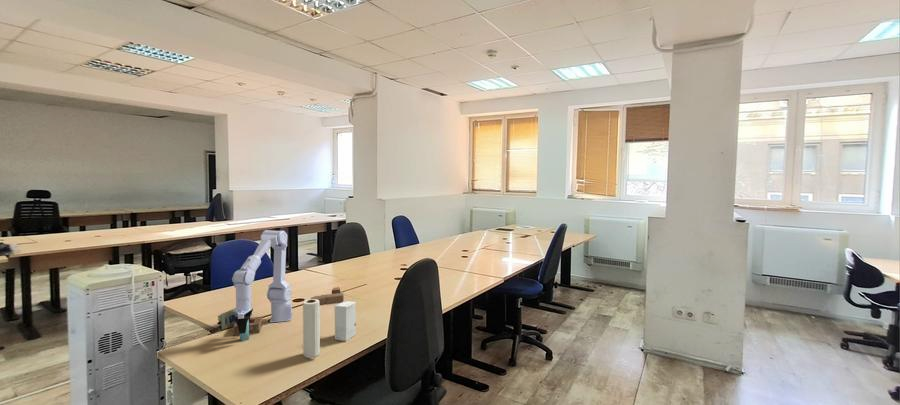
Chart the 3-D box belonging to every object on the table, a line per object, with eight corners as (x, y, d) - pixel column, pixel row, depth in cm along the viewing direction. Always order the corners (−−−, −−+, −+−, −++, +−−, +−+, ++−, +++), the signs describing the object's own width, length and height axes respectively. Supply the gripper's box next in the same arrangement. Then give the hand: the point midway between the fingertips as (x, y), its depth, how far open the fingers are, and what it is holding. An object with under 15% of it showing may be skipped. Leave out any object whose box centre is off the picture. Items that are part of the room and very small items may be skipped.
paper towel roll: (307, 350, 155) (306, 298, 154) (322, 351, 155) (321, 298, 154) (299, 359, 148) (299, 304, 147) (315, 359, 148) (314, 304, 147)
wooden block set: (345, 293, 216) (310, 296, 209) (345, 303, 216) (311, 307, 209) (340, 285, 231) (308, 288, 224) (340, 294, 232) (308, 297, 225)
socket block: (262, 324, 182) (262, 316, 181) (259, 333, 172) (259, 324, 172) (238, 327, 178) (237, 318, 178) (233, 335, 169) (233, 326, 169)
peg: (249, 337, 168) (249, 316, 167) (248, 340, 164) (247, 319, 164) (240, 338, 166) (240, 317, 166) (239, 341, 163) (238, 320, 163)
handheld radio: (253, 315, 195) (214, 335, 170) (247, 315, 195) (207, 334, 171) (252, 302, 194) (213, 320, 170) (246, 302, 195) (206, 319, 170)
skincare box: (346, 341, 164) (346, 307, 164) (333, 339, 166) (333, 305, 165) (356, 334, 172) (356, 301, 172) (344, 332, 174) (344, 299, 173)
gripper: (236, 294, 170) (236, 324, 171) (229, 304, 156) (229, 337, 157) (254, 292, 172) (254, 322, 173) (248, 302, 159) (249, 335, 159)
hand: (244, 329), depth 165 cm, fingers open, 7 cm apart
